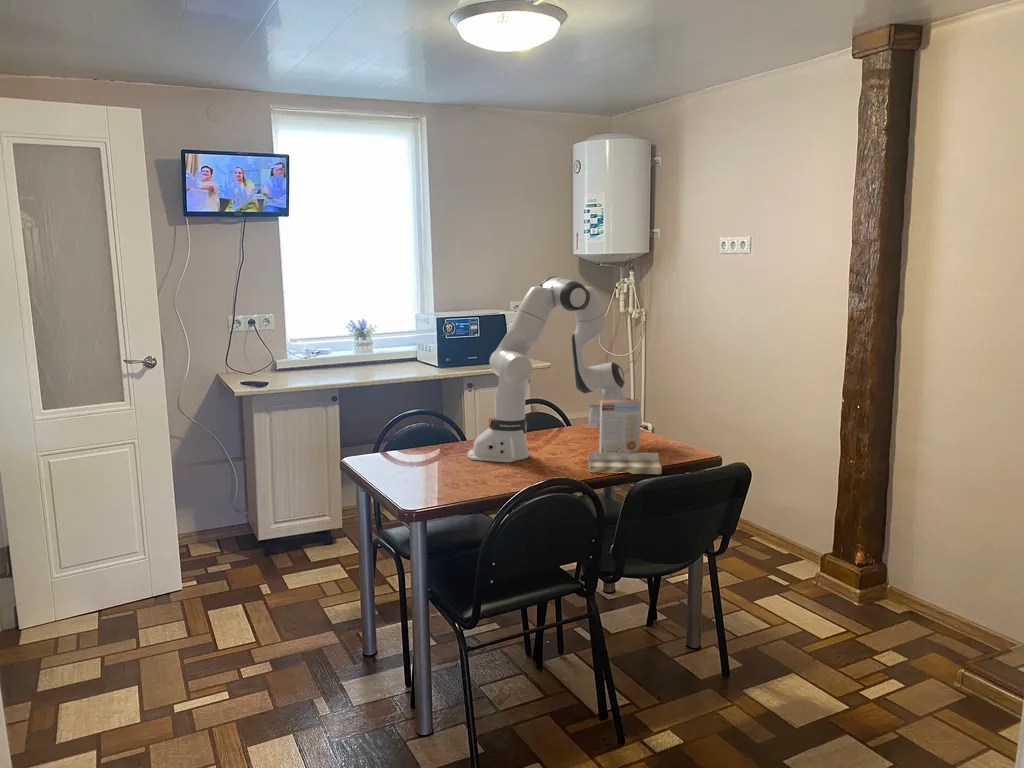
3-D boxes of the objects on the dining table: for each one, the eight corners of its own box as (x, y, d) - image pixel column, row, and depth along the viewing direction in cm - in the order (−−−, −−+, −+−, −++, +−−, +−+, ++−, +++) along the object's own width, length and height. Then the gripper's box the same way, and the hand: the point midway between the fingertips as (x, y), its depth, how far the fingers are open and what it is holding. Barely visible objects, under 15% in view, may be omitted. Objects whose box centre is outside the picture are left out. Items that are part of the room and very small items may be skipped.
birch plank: (590, 473, 262) (590, 466, 262) (588, 467, 269) (589, 460, 269) (661, 474, 262) (661, 467, 261) (658, 468, 269) (658, 461, 268)
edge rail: (588, 467, 269) (589, 453, 268) (588, 465, 271) (588, 452, 270) (658, 468, 269) (658, 454, 268) (657, 466, 271) (657, 452, 270)
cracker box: (635, 453, 288) (637, 398, 284) (639, 458, 282) (641, 401, 278) (598, 453, 288) (599, 398, 284) (600, 458, 282) (602, 401, 278)
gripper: (587, 400, 300) (589, 430, 292) (641, 400, 299) (643, 431, 291) (586, 409, 305) (587, 439, 297) (639, 409, 304) (641, 440, 296)
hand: (615, 435), depth 294 cm, fingers closed
